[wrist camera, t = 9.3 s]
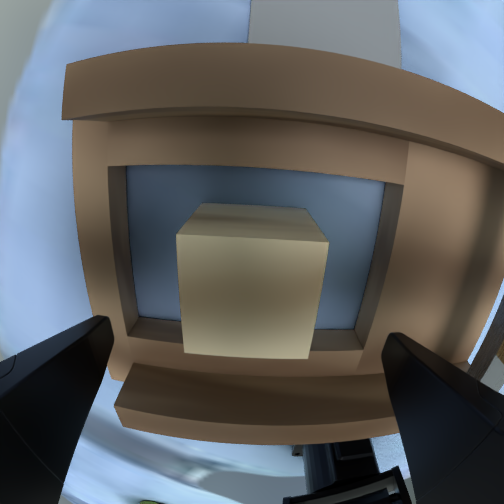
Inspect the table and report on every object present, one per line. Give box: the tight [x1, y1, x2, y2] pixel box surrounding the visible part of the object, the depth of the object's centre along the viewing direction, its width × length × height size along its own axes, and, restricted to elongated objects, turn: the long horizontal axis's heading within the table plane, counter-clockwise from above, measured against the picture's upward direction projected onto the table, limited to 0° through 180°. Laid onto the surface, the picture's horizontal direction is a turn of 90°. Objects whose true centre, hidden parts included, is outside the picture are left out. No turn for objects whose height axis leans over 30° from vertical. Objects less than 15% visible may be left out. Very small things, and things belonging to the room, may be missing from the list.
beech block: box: [176, 203, 329, 359], centre depth 13 cm, size 5×5×5 cm
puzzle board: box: [62, 43, 504, 445], centre depth 12 cm, size 17×24×6 cm
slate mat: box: [248, 0, 401, 69], centre depth 10 cm, size 8×8×1 cm
